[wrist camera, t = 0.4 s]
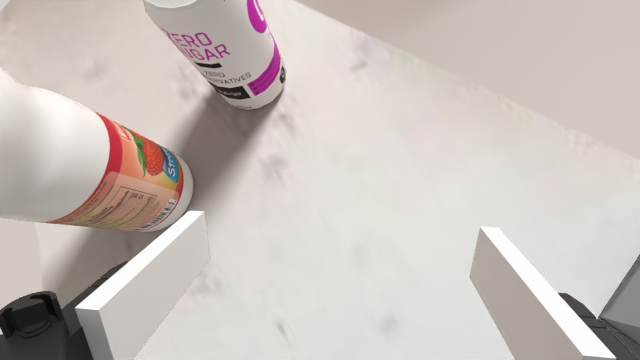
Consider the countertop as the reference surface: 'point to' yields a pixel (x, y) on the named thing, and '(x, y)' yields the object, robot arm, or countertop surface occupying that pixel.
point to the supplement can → (225, 46)
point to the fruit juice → (83, 166)
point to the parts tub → (626, 305)
